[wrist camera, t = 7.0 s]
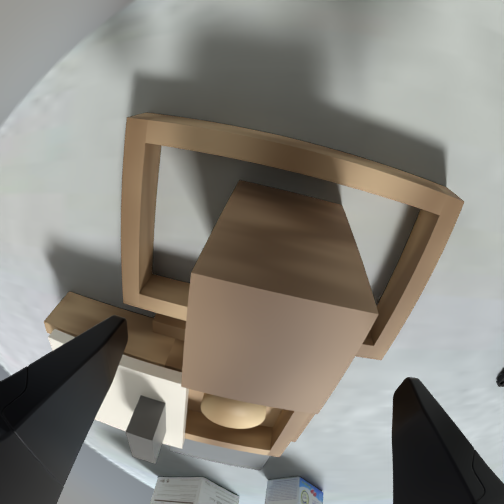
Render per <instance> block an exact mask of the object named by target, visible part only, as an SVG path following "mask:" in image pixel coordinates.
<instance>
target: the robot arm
mask: <svg viewBox="0 0 504 504" xmlns="http://www.w3.org/2000/svg"><path fill="white" fill-rule="evenodd" d="M127 342H128V329H127V320H126V318H124V317H121V316H118V315H112V316H110V317H109V318H107V319H105V320H104V321H102V322H100V323H99V324H97V325H95V326H93V327H92V328H90V329H88V330H87V331H85V332H83V333H82V334H80V335H78V336H77V337H75V338H73V339H72V340H70V341H68V342H66V343H65V344H63V345H61V346H60V347H58V348H56V349H55V350H53V351H51V352H50V353H48V354H46V355H45V356H43V357H41V358H40V359H38V360H36V361H35V362H33V363H31V364H30V365H29V366H28V367H27V366H26V367H25V368H23V369H21V370H20V371H18V372H16V373H15V374H13V375H11V376H9V377H8V378H6V379H4V380H2V381H0V504H57V502H58V499H59V497H60V494H61V492H62V490H63V486H64V484H65V482H66V480H67V478H68V475H69V473H70V471H71V468H72V466H73V464H74V462H75V460H76V457H77V455H78V453H79V451H80V449H81V446H82V444H83V442H84V440H85V438H86V436H87V434H88V432H89V429H90V427H91V425H92V423H93V421H94V419H95V417H96V415H97V413H98V411H99V409H100V407H101V405H102V403H103V401H104V399H105V397H106V395H107V393H108V391H109V389H110V387H111V384H112V382H113V380H114V377H115V374H116V371H117V369H118V366H119V363H120V361H121V358H122V355H123V353H124V350H125V347H126V345H127ZM496 383H497V385H498V386H499V387H504V372H503V374H502V375H501V376H500V377H499V378H498V380H497V381H496ZM392 454H393V504H504V483H503V482H502V481H501V480H500V479H499V478H498V477H497V476H496V475H495V473H494V472H493V471H492V470H491V469H490V468H489V467H488V465H487V464H486V463H485V462H484V460H483V459H482V458H481V457H480V455H479V454H478V453H477V451H476V450H474V447H473V446H472V445H471V444H470V442H469V441H468V440H467V438H466V437H465V436H464V435H463V433H462V432H461V431H460V429H459V428H458V427H457V426H456V424H455V423H454V422H453V421H452V419H451V418H450V417H449V416H448V414H447V413H446V412H445V411H444V409H443V408H442V407H441V406H440V404H439V403H438V402H437V401H436V399H435V398H434V397H433V396H432V395H431V393H430V392H429V391H428V390H427V388H426V387H425V386H424V385H423V384H422V382H421V381H420V380H419V379H418V378H412V377H407V378H406V379H405V380H404V381H403V382H402V383H401V385H400V386H399V387H398V388H397V390H396V391H395V393H394V396H393V418H392Z"/></svg>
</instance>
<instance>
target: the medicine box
mask: <svg viewBox="0 0 504 504" xmlns="http://www.w3.org/2000/svg"><path fill="white" fill-rule="evenodd" d="M265 504H323V492H322V491H321V490H319V489H318V488H316V487H315V486H313V485H311V484H310V483H308V482H307V481H305V480H304V479H302V478H301V477H299V476H296V477H288V478H280V479H272V480H268V483H267V490H266V498H265Z"/></svg>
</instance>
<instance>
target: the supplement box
mask: <svg viewBox="0 0 504 504" xmlns="http://www.w3.org/2000/svg"><path fill="white" fill-rule="evenodd" d="M238 503H239V496H237V495H235V494H233V493H231V492H229V491H227V490H226V489H224V488H222V487H220V486H218V485H216V484H215V483H213V482H211V481H210V480H208V479H206V478H204V477H158V480H157V483H156V486H155V489H154V493H153V496H152V499H151V502H150V504H238Z"/></svg>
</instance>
